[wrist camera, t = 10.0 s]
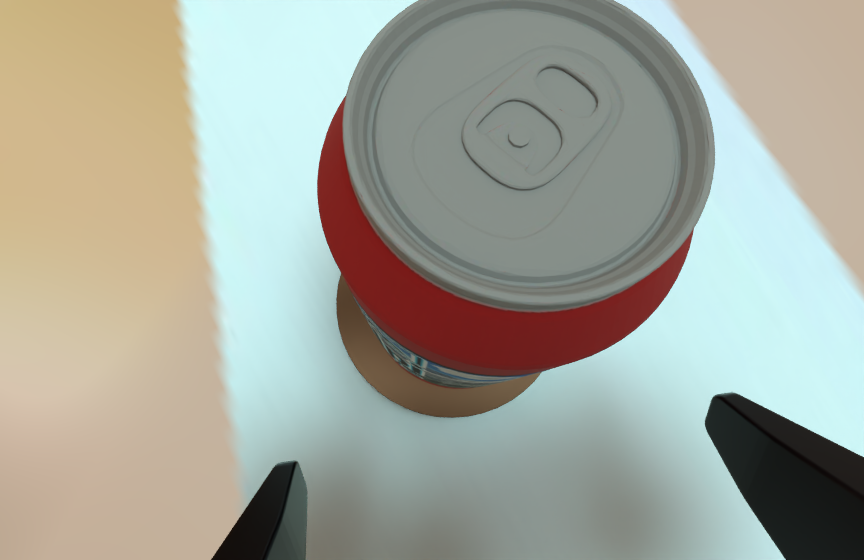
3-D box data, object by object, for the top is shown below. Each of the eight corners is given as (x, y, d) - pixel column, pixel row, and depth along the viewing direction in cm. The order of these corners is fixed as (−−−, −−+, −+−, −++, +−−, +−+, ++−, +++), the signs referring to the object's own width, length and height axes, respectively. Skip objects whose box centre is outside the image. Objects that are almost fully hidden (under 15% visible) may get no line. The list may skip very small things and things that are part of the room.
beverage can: (335, 305, 18) (186, 121, 6) (452, 193, 19) (507, -124, 8) (461, 430, 17) (566, 486, 5) (574, 301, 18) (854, 121, 7)
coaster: (580, 382, 19) (594, 381, 17) (369, 443, 18) (365, 447, 16) (514, 191, 21) (521, 175, 20) (322, 236, 20) (315, 223, 19)
